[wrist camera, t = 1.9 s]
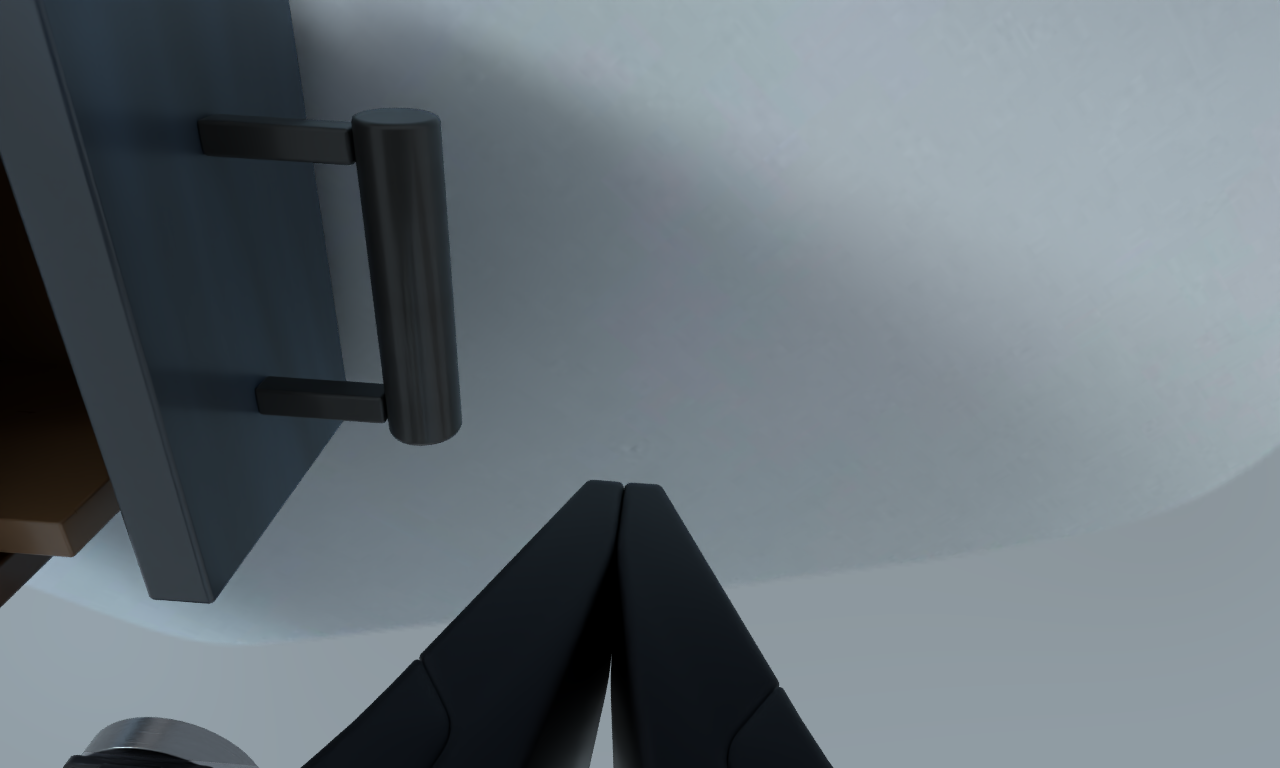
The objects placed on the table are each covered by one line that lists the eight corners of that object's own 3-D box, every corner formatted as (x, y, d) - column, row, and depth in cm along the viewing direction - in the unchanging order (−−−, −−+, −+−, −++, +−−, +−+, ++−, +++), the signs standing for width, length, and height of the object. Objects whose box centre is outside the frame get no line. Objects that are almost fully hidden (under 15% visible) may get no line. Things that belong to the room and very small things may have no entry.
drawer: (485, -43, 15) (354, -27, 9) (504, 422, 20) (427, 622, 14) (-351, -89, 16) (-985, -104, 10) (-127, 377, 21) (-453, 554, 15)
